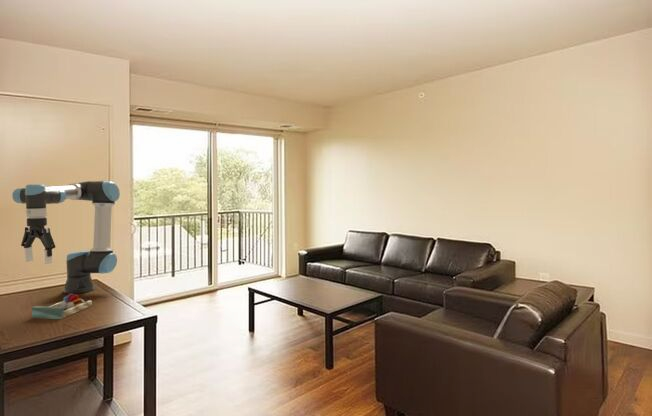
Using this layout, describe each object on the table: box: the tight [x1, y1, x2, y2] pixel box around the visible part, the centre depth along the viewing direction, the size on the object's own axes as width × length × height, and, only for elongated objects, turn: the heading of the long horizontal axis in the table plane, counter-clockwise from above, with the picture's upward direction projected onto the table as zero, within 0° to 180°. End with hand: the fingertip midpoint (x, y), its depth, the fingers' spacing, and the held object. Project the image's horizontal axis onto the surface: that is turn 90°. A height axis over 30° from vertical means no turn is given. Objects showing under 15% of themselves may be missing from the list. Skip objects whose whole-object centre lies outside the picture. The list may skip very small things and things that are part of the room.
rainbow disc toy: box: [60, 293, 85, 310], centre depth 194 cm, size 8×10×7 cm
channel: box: [31, 300, 93, 320], centre depth 189 cm, size 21×14×5 cm
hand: (38, 262), depth 181 cm, fingers open, 13 cm apart
